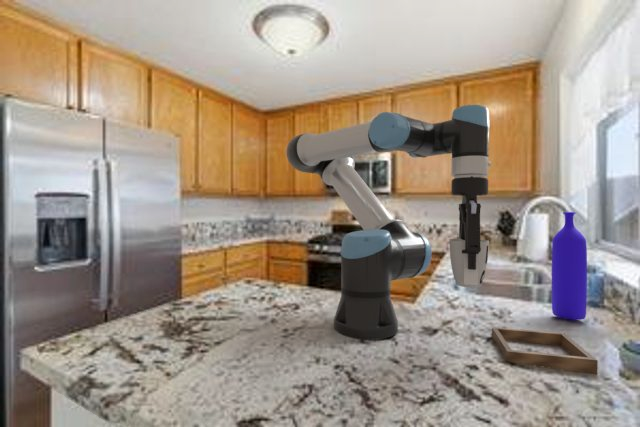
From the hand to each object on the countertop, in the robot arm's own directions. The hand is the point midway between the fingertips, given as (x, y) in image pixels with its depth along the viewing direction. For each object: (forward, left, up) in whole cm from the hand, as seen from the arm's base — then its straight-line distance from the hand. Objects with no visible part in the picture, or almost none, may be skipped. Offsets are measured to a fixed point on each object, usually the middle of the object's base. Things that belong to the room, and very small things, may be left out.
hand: (468, 280), depth 78 cm
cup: (0, 0, -1) cm, 1 cm away
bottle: (+31, +33, -15) cm, 48 cm away
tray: (+14, 0, -15) cm, 20 cm away
